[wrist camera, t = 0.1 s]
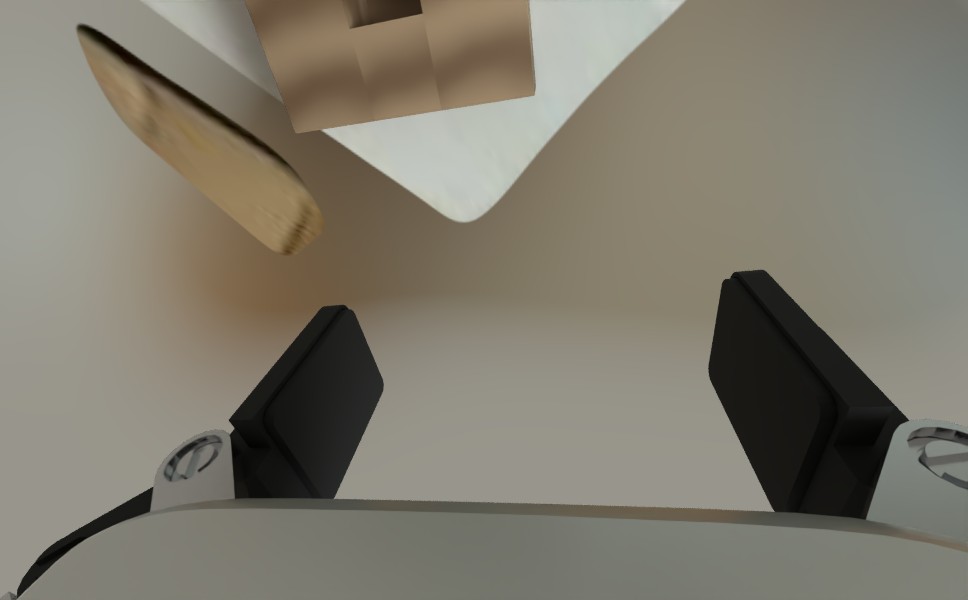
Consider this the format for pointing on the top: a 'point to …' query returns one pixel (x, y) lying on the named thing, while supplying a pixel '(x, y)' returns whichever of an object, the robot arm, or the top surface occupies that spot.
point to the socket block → (393, 56)
